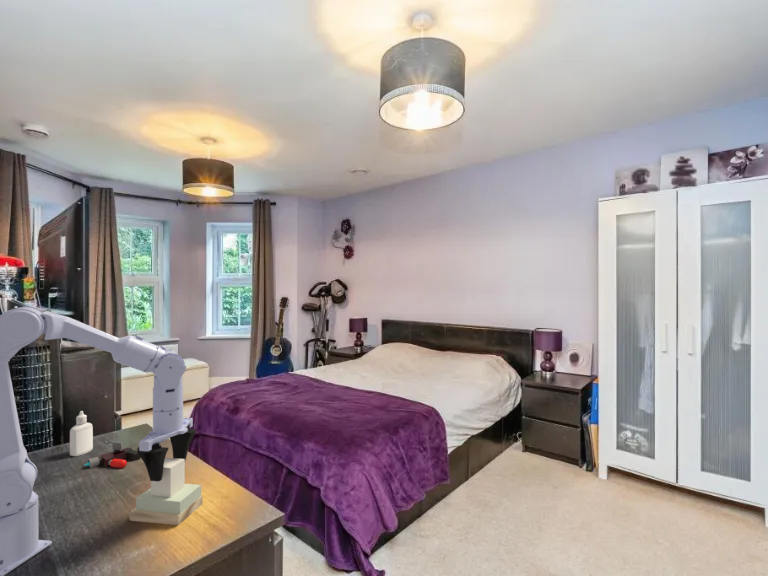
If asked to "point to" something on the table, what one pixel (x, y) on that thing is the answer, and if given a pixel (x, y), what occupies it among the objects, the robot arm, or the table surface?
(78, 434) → the eye dropper bottle
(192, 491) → the sage top slab
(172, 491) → the cream block
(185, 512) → the oak base slab
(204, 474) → the table surface
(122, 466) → the toy gun
